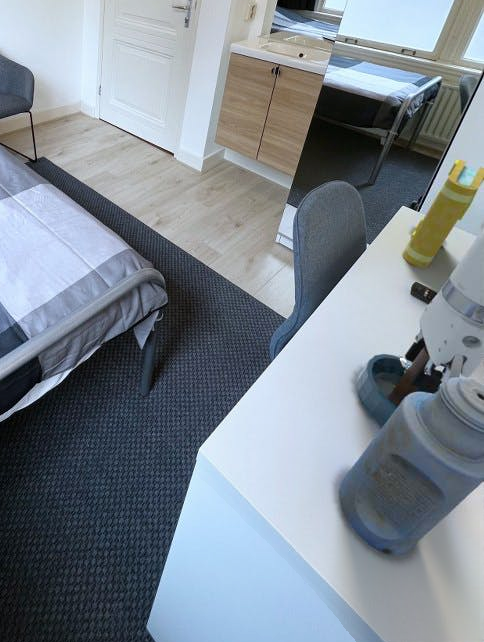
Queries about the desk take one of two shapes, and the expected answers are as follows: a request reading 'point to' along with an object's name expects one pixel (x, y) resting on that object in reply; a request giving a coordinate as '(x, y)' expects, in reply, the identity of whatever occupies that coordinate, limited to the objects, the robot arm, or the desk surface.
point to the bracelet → (404, 365)
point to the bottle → (417, 467)
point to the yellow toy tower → (444, 213)
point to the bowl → (370, 393)
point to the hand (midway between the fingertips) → (418, 373)
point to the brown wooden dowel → (409, 379)
